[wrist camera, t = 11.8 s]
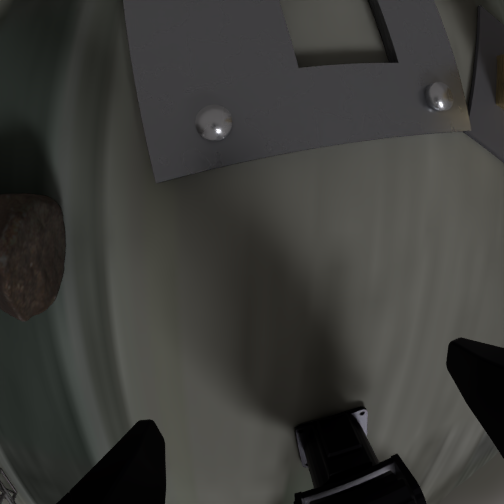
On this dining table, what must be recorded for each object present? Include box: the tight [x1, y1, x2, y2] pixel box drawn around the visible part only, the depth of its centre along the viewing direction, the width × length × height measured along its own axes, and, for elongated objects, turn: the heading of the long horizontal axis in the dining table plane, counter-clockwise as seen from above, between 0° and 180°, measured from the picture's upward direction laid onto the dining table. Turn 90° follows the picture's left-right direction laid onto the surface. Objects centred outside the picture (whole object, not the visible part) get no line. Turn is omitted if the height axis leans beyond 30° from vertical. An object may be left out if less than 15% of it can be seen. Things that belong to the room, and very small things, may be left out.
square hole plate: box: [123, 0, 471, 183], centre depth 16 cm, size 17×22×2 cm
